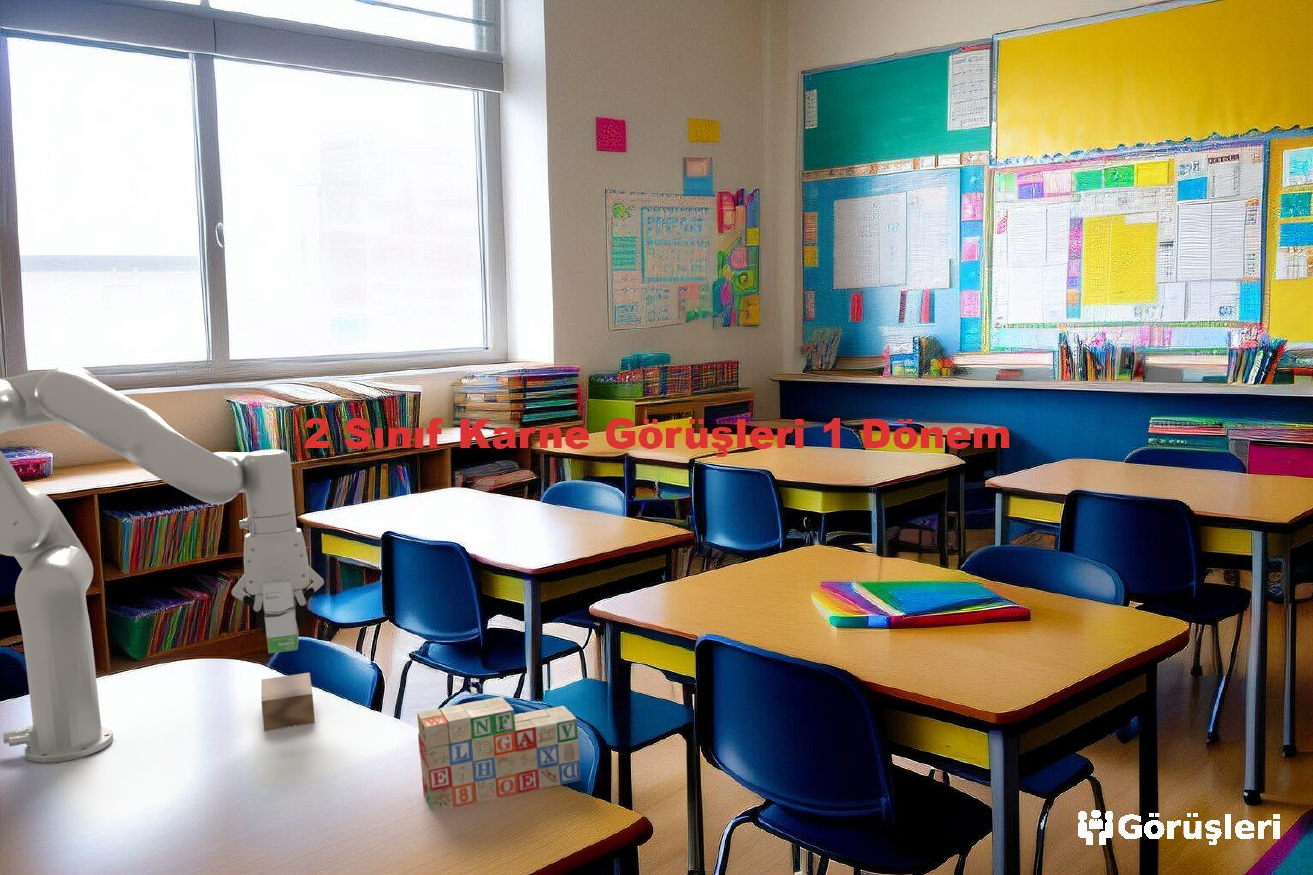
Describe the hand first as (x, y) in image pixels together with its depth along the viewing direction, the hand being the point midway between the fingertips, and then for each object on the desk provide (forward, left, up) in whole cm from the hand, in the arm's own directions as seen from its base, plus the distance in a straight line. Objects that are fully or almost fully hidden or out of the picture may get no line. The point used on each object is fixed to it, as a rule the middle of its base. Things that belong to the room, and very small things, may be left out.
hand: (282, 628), depth 188 cm
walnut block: (0, 0, -15) cm, 15 cm away
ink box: (0, 0, -3) cm, 3 cm away
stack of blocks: (+28, -45, -15) cm, 55 cm away
